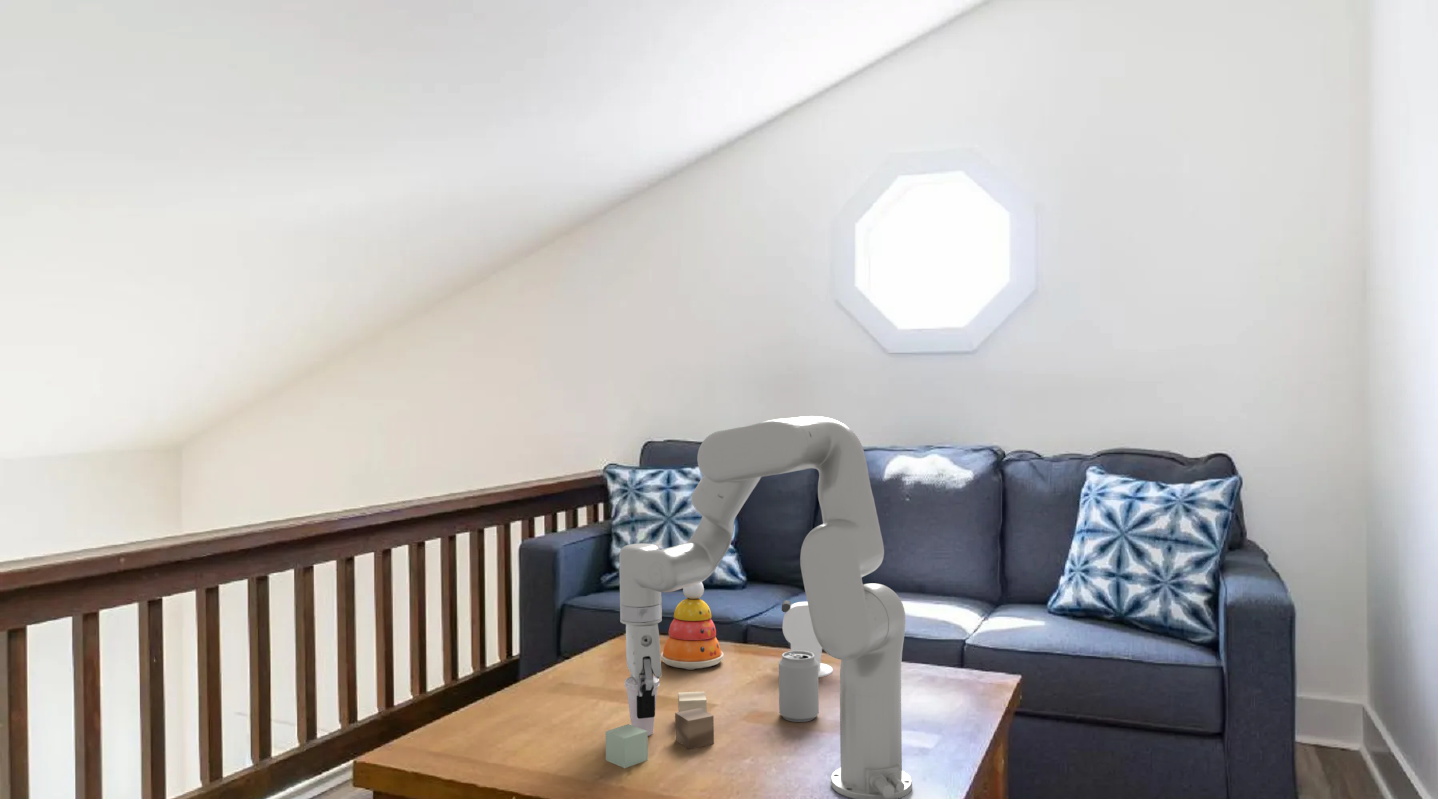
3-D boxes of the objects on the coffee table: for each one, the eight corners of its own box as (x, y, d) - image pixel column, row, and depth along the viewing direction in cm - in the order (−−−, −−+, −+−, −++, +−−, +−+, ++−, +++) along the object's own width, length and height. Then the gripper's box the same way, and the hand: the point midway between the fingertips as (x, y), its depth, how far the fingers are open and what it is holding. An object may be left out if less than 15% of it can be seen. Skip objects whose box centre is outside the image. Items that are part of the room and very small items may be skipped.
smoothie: (618, 735, 182) (616, 658, 182) (637, 725, 188) (636, 650, 188) (648, 741, 179) (647, 662, 179) (667, 730, 185) (665, 653, 185)
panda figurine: (835, 663, 227) (834, 596, 226) (836, 678, 215) (835, 608, 215) (781, 662, 228) (780, 596, 228) (779, 677, 217) (778, 607, 216)
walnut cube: (713, 743, 178) (713, 715, 178) (688, 749, 176) (688, 720, 176) (700, 735, 182) (699, 707, 182) (675, 740, 180) (675, 712, 180)
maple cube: (706, 726, 187) (706, 699, 187) (679, 727, 187) (679, 700, 186) (704, 717, 192) (704, 691, 192) (678, 718, 192) (678, 692, 191)
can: (816, 724, 187) (815, 660, 187) (776, 722, 189) (775, 658, 188) (820, 711, 194) (820, 649, 194) (782, 709, 196) (781, 647, 196)
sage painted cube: (647, 760, 171) (647, 731, 171) (624, 768, 167) (624, 738, 167) (628, 752, 174) (628, 724, 174) (605, 760, 171) (605, 731, 171)
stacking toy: (688, 676, 218) (687, 586, 218) (647, 663, 229) (646, 577, 228) (736, 663, 228) (735, 577, 227) (695, 651, 238) (694, 569, 238)
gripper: (671, 622, 176) (672, 724, 176) (652, 601, 193) (653, 695, 193) (628, 625, 174) (630, 729, 174) (613, 604, 191) (614, 698, 191)
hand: (642, 710), depth 184 cm, fingers closed on smoothie, 6 cm apart
